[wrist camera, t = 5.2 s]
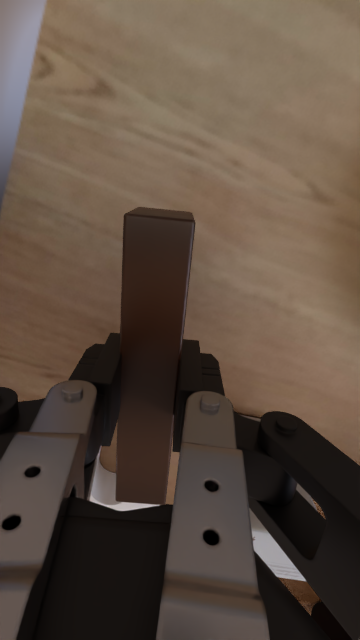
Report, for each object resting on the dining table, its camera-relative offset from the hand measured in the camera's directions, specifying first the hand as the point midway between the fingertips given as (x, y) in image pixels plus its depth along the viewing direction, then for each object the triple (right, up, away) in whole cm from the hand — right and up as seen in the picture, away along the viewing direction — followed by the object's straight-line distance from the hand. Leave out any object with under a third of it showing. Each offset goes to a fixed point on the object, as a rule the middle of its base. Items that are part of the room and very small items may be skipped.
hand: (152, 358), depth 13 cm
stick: (0, 0, +1) cm, 1 cm away
